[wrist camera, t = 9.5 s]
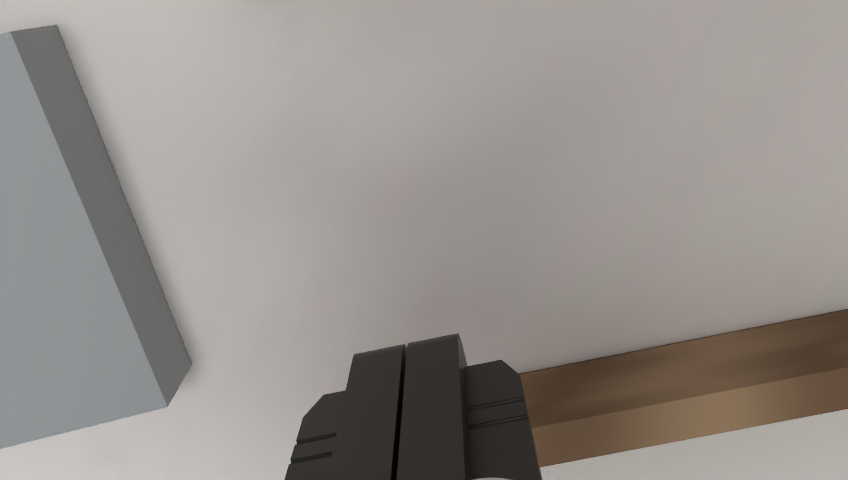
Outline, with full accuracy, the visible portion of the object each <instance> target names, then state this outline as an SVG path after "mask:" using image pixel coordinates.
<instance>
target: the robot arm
mask: <svg viewBox="0 0 848 480" xmlns="http://www.w3.org/2000/svg"><path fill="white" fill-rule="evenodd" d="M296 441H297V445H295V446H294V450H293V453H292V456H291V464H289V467H288V470H287V473H286V477H285V480H542V476H541V471H540V467H539V462H538V457H537V453H536V448H535V443H534V438H533V434H532V429H531V424H530V420H529V415H528V410H527V406H526V401H525V396H524V391H523V387H522V382H521V377H520V375H519V374H518V373H517V372H516V371H514V370H513V369H512V368H511V367H510V366H508V365H507V364H506V363H505V362H503V361H502V360H498V361H493V362H488V363H482V364H477V365H472V366H467V363H466V359H465V354H464V350H463V346H462V342H461V339H460V336H459V334H458V333H457V334H452V335H447V336H442V337H437V338H432V339H427V340H422V341H417V342H412V343H408V345H407V347H406V345H405V344H403V345H398V346H393V347H388V348H383V349H378V350H373V351H368V352H363V353H358V354H354V356H353V360H352V364H351V369H350V373H349V378H348V383H347V387H346V391H341V392H336V393H331V394H326V395H323V396H322V397H321V398H320V399H319V400H318V402H317V403H316V404H315V405H314V406H313V407H312V408H311V409H310V410H309V411H308V413H307V414H306V415H305V416H304V417H303V420H302V423H301V426H300V430H299V433H298V436H297V440H296Z"/></svg>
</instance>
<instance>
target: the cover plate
mask: <svg viewBox="0 0 848 480" xmlns="http://www.w3.org/2000/svg"><path fill="white" fill-rule="evenodd" d="M191 365H192V363H191V361H190V358H189V356H188V353H187V351H186V348H185V346H184V343H183V340H182V338H181V335H180V333H179V330H178V328H177V325H176V323H175V320H174V318H173V315H172V313H171V310H170V308H169V305H168V303H167V300H166V298H165V295H164V293H163V290H162V288H161V285H160V283H159V280H158V278H157V275H156V273H155V270H154V268H153V265H152V263H151V260H150V258H149V255H148V253H147V250H146V248H145V245H144V243H143V240H142V238H141V235H140V233H139V230H138V228H137V225H136V223H135V220H134V218H133V215H132V213H131V210H130V208H129V205H128V203H127V200H126V198H125V195H124V193H123V190H122V187H121V185H120V182H119V180H118V177H117V175H116V172H115V170H114V167H113V165H112V162H111V160H110V157H109V155H108V152H107V150H106V147H105V145H104V142H103V140H102V137H101V135H100V132H99V130H98V127H97V125H96V122H95V120H94V117H93V115H92V112H91V110H90V107H89V105H88V102H87V100H86V97H85V95H84V92H83V90H82V87H81V85H80V82H79V80H78V77H77V75H76V72H75V70H74V67H73V65H72V62H71V60H70V57H69V55H68V52H67V50H66V47H65V45H64V42H63V39H62V37H61V34H60V32H59V29H58V27H57V25H53V26H46V27H40V28H33V29H26V30H19V31H13V32H8V33H5V34H1V35H0V449H1V448H5V447H9V446H13V445H17V444H21V443H25V442H29V441H33V440H37V439H41V438H45V437H49V436H53V435H57V434H61V433H65V432H69V431H73V430H77V429H81V428H85V427H89V426H93V425H97V424H101V423H105V422H109V421H113V420H117V419H121V418H125V417H129V416H133V415H137V414H141V413H145V412H149V411H153V410H157V409H161V408H165V407H168V405H169V403H170V402H171V400H172V398H173V396H174V395H175V393H176V391H177V389H178V388H179V386H180V384H181V382H182V380H183V379H184V377H185V375H186V373H187V372H188V370H189V368H190V366H191Z"/></svg>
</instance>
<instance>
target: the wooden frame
mask: <svg viewBox="0 0 848 480" xmlns="http://www.w3.org/2000/svg"><path fill="white" fill-rule="evenodd" d="M519 375H520V377H521V382H522V387H523V391H524V396H525V401H526V406H527V410H528V415H529V420H530V424H531V429H532V434H533V438H534V443H535V448H536V453H537V457H538V462H539V467H544V466H549V465H554V464H560V463H565V462H570V461H575V460H581V459H586V458H591V457H596V456H602V455H607V454H612V453H617V452H623V451H628V450H633V449H639V448H644V447H649V446H654V445H660V444H665V443H670V442H675V441H681V440H686V439H691V438H696V437H702V436H707V435H712V434H717V433H723V432H728V431H733V430H739V429H744V428H749V427H754V426H760V425H765V424H770V423H775V422H781V421H786V420H791V419H796V418H802V417H807V416H812V415H817V414H823V413H828V412H833V411H838V410H844V409H848V309H847V310H842V311H837V312H832V313H827V314H822V315H817V316H812V317H807V318H802V319H797V320H792V321H787V322H782V323H777V324H772V325H766V326H761V327H756V328H751V329H746V330H741V331H736V332H731V333H726V334H721V335H716V336H711V337H706V338H701V339H696V340H690V341H685V342H680V343H675V344H670V345H665V346H660V347H655V348H650V349H645V350H640V351H635V352H630V353H625V354H620V355H615V356H609V357H604V358H599V359H594V360H589V361H584V362H579V363H574V364H569V365H564V366H559V367H554V368H549V369H544V370H539V371H533V372H528V373H523V374H519Z"/></svg>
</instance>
